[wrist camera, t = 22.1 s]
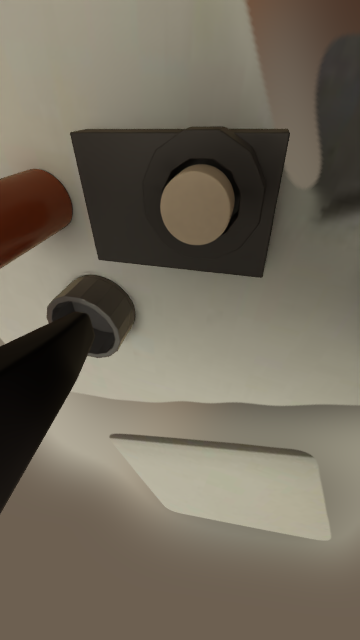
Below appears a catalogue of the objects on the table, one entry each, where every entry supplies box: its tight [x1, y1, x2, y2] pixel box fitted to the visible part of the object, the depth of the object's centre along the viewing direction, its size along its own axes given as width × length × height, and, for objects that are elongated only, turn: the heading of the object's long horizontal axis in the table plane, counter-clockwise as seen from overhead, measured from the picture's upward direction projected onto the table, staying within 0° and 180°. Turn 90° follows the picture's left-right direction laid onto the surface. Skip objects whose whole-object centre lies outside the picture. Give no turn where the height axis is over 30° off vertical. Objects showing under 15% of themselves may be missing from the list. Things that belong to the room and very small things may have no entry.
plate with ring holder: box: [70, 127, 290, 278], centre depth 17 cm, size 12×8×4 cm
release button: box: [160, 164, 235, 245], centre depth 14 cm, size 4×4×2 cm
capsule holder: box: [47, 275, 135, 358], centre depth 25 cm, size 7×7×4 cm
